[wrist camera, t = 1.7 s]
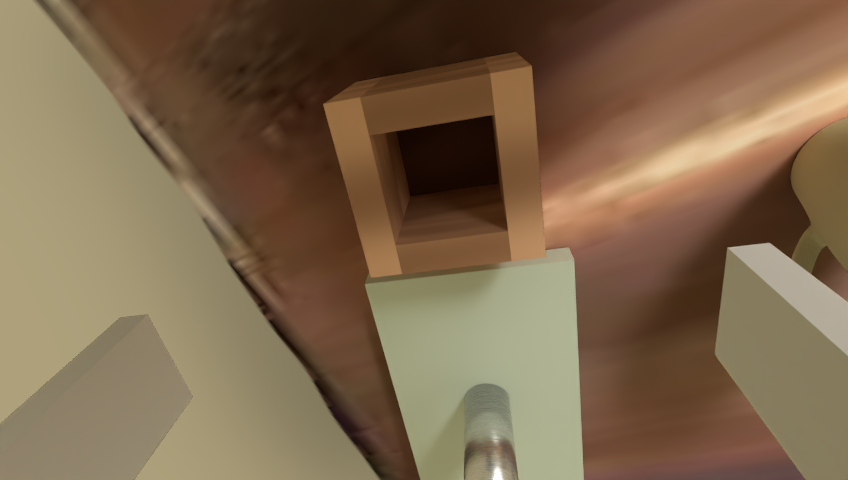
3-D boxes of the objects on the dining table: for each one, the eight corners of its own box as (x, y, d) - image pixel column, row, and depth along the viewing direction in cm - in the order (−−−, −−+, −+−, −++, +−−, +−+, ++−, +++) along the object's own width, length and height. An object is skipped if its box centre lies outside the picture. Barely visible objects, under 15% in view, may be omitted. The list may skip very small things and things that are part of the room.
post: (461, 385, 30) (459, 534, 21) (507, 381, 29) (523, 533, 21) (467, 417, 31) (468, 570, 23) (511, 414, 31) (529, 569, 22)
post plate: (369, 271, 28) (364, 284, 27) (568, 247, 26) (574, 260, 25) (427, 480, 37) (425, 498, 35) (579, 474, 35) (584, 492, 34)
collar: (356, 81, 23) (323, 103, 18) (515, 51, 22) (531, 65, 16) (390, 223, 26) (370, 277, 21) (529, 204, 25) (546, 257, 20)
